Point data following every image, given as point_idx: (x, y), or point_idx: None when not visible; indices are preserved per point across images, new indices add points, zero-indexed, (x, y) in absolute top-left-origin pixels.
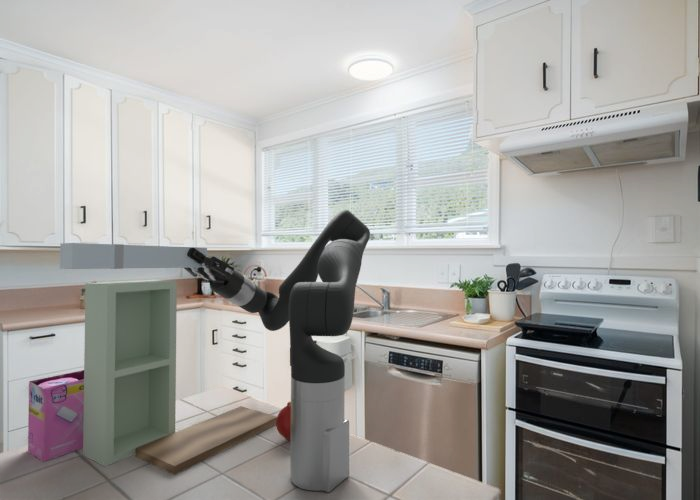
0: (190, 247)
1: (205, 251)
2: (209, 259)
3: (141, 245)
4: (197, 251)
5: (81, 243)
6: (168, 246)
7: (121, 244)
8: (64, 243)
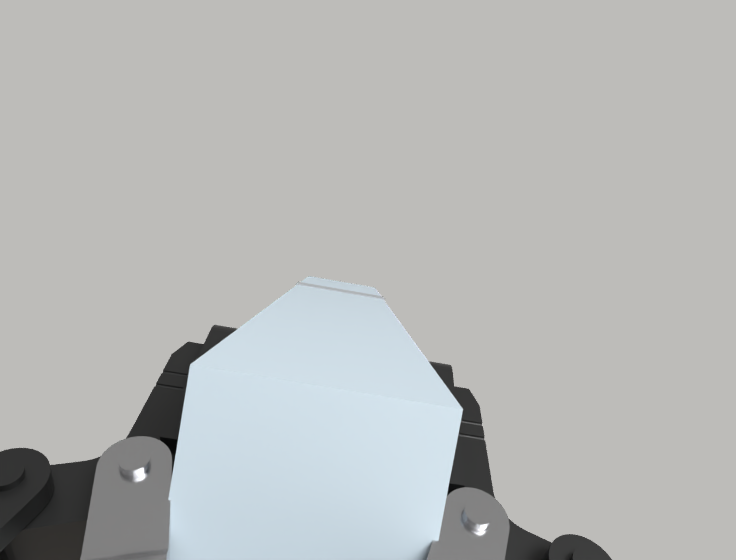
0: (242, 328)
1: (188, 407)
2: (61, 478)
3: (289, 290)
4: (171, 362)
5: (307, 277)
6: (272, 303)
7: (296, 283)
8: (350, 283)
